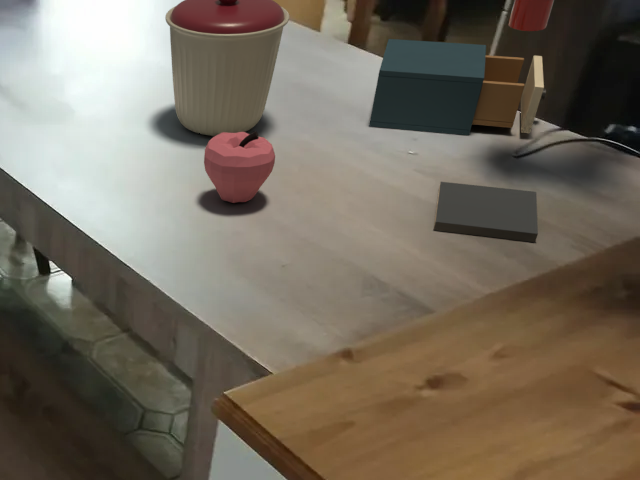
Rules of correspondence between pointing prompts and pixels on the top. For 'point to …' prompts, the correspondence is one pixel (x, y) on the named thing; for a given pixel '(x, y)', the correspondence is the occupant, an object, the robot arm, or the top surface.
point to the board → (487, 211)
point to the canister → (223, 61)
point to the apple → (238, 164)
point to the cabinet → (428, 86)
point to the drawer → (509, 92)
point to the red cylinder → (530, 14)
